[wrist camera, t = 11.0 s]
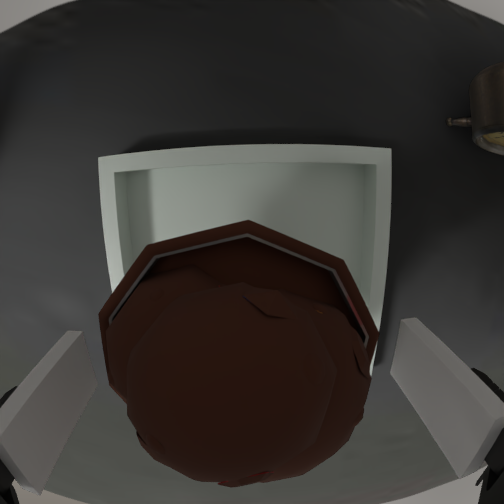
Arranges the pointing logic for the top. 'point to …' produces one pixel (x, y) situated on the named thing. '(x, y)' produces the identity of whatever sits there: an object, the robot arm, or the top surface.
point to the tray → (254, 201)
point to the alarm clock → (486, 109)
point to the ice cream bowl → (239, 353)
